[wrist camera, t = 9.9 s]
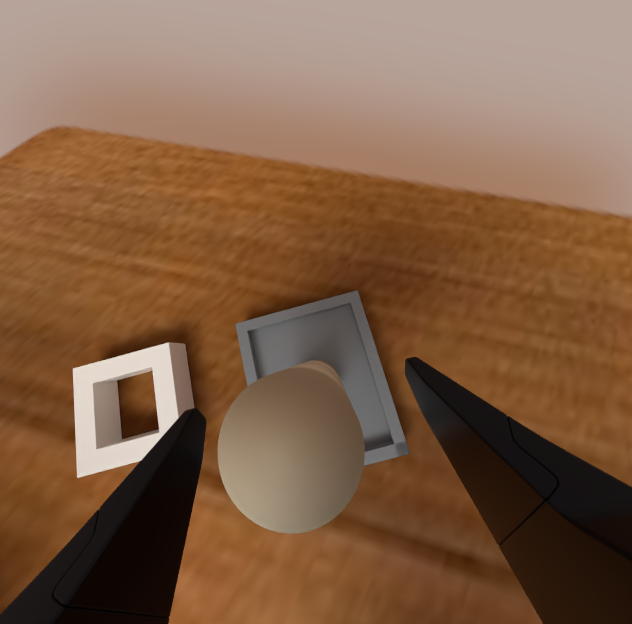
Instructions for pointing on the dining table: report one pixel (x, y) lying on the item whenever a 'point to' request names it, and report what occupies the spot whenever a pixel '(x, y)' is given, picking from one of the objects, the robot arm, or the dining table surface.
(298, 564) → the dining table surface
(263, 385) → the dowel
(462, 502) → the dining table surface
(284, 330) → the tray
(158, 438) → the socket
